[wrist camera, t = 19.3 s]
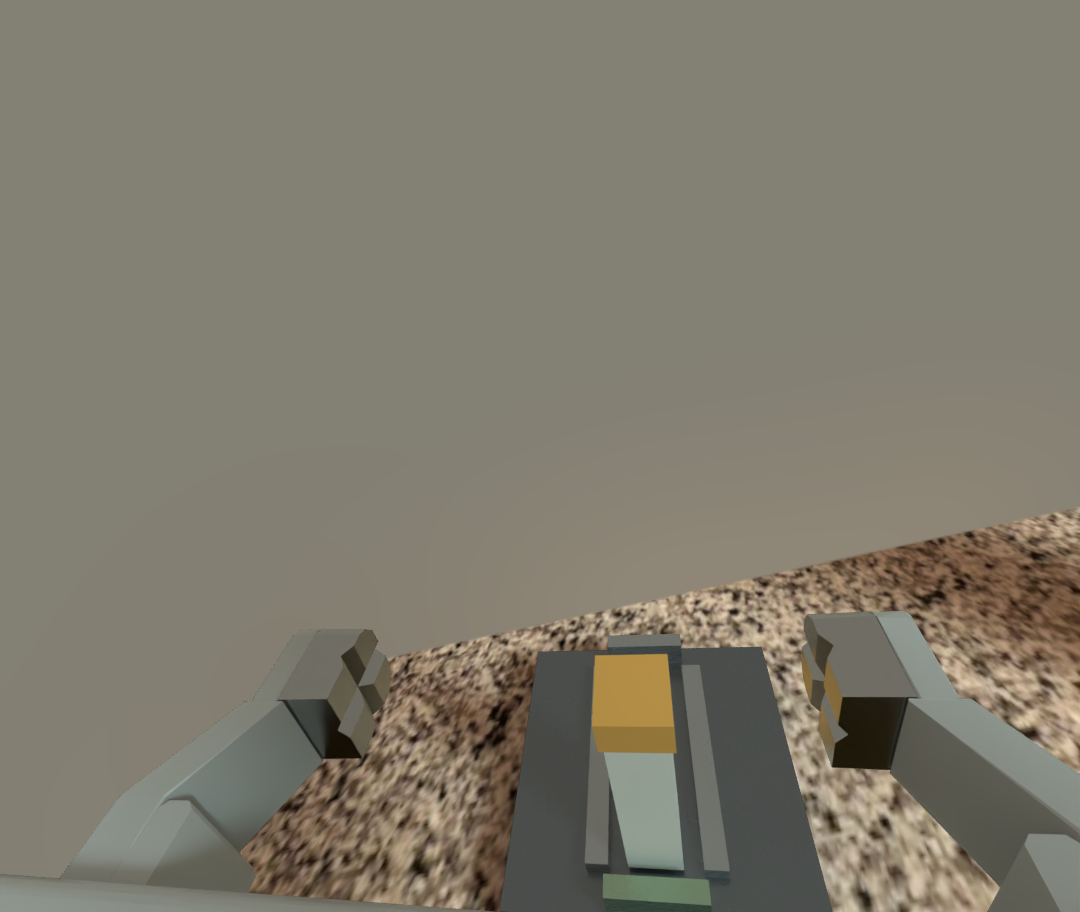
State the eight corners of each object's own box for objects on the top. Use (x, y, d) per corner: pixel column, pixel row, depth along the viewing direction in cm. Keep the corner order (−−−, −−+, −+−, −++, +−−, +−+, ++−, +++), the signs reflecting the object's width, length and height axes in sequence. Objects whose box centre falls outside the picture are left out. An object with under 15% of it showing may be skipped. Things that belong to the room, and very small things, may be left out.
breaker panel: (760, 674, 40) (762, 629, 37) (833, 961, 26) (842, 919, 24) (545, 677, 43) (533, 635, 40) (511, 934, 29) (491, 895, 27)
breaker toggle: (682, 803, 30) (667, 654, 24) (688, 875, 27) (674, 726, 21) (624, 801, 31) (595, 655, 25) (624, 871, 28) (591, 726, 22)
